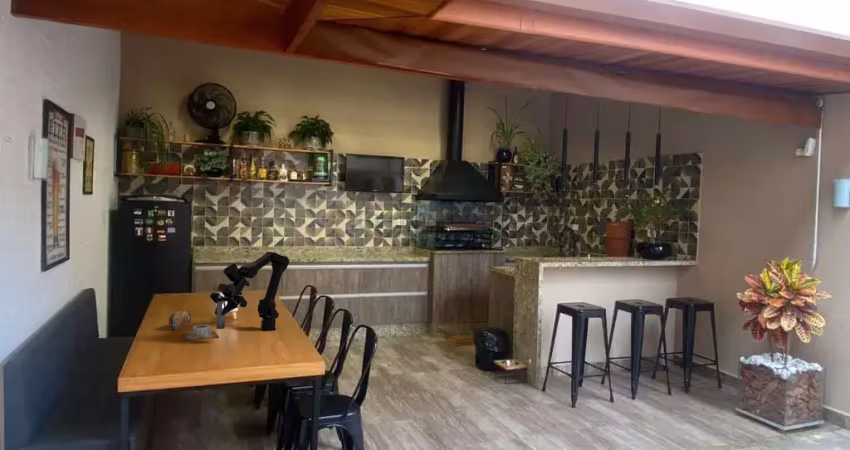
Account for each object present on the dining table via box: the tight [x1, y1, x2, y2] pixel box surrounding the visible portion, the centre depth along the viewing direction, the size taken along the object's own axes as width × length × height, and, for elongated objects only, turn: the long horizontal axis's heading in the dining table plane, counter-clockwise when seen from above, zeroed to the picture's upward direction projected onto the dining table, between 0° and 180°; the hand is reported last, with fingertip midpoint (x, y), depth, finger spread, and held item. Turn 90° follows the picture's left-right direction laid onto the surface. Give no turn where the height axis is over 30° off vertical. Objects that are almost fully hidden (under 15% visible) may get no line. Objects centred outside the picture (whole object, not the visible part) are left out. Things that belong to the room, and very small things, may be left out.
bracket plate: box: [183, 330, 220, 341], centre depth 267 cm, size 14×12×1 cm
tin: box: [168, 310, 192, 331], centre depth 283 cm, size 15×3×8 cm, turn 168°
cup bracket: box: [192, 324, 211, 337], centre depth 267 cm, size 7×7×4 cm
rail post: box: [216, 301, 226, 330], centre depth 256 cm, size 4×4×12 cm
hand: (218, 314), depth 255 cm, fingers closed on rail post, 4 cm apart
